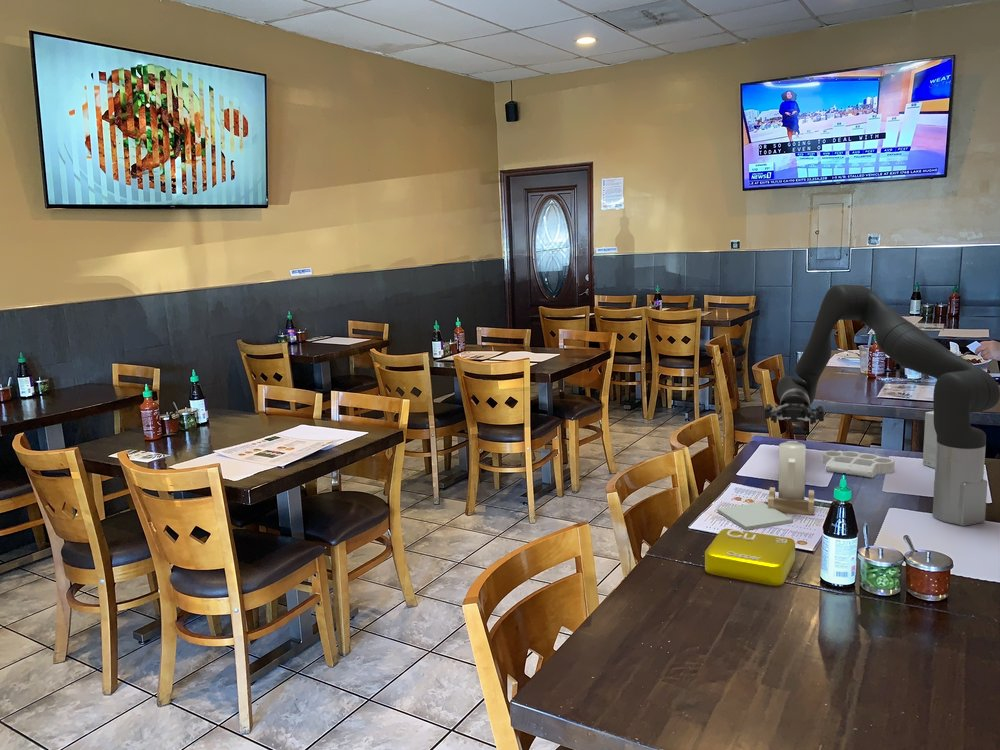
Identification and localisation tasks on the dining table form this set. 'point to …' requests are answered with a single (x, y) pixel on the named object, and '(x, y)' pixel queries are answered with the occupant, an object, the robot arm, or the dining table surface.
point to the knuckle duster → (857, 463)
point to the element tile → (750, 556)
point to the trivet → (754, 515)
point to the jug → (792, 470)
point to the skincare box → (929, 440)
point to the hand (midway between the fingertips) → (793, 419)
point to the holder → (791, 503)
